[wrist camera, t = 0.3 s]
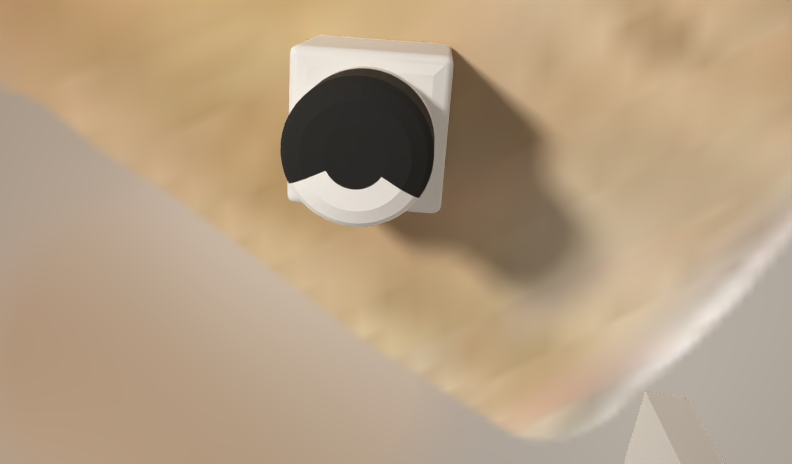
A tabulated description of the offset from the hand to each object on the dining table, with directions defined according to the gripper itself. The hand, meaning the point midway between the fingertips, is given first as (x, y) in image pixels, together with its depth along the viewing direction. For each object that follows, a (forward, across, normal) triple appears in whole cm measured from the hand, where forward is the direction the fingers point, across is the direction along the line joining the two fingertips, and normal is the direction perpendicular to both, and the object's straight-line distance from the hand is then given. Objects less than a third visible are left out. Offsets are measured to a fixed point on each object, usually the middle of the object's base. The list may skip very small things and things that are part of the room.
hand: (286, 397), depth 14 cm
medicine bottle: (+28, 0, +1) cm, 28 cm away
